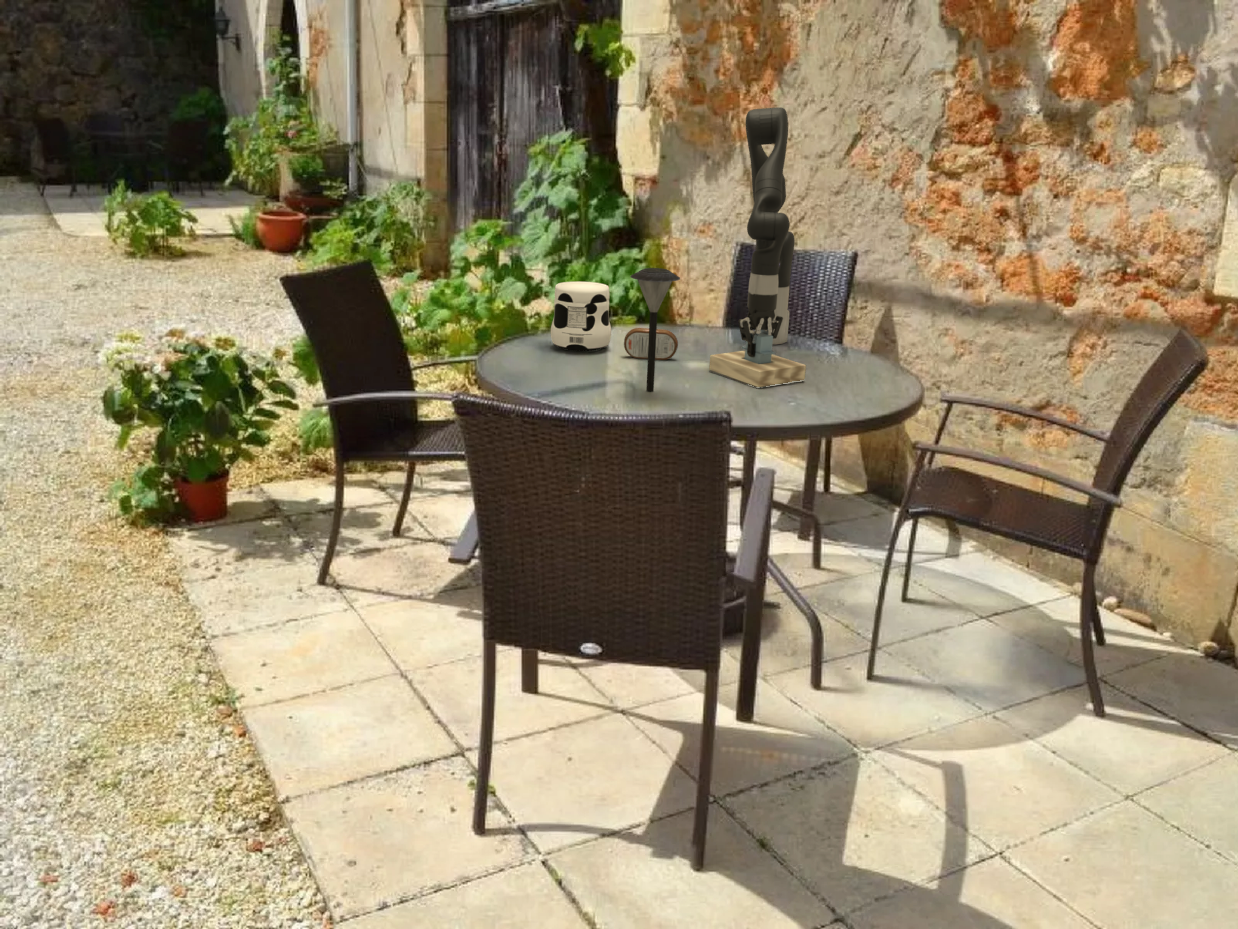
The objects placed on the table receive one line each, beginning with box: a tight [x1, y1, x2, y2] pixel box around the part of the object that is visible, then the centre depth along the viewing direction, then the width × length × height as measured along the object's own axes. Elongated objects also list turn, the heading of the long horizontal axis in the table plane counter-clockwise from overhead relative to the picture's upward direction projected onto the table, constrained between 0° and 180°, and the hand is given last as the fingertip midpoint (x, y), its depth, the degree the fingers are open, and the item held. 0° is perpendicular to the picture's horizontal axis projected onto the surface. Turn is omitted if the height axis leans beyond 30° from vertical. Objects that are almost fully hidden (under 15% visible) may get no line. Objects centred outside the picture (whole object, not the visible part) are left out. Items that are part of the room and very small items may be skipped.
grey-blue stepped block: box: [741, 332, 777, 364], centre depth 283 cm, size 4×9×8 cm, turn 34°
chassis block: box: [708, 350, 807, 388], centre depth 285 cm, size 16×20×4 cm
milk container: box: [550, 280, 612, 353], centre depth 307 cm, size 17×17×18 cm
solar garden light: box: [629, 267, 681, 393], centre depth 263 cm, size 12×12×30 cm
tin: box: [623, 327, 679, 361], centre depth 299 cm, size 15×3×8 cm, turn 84°
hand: (757, 355), depth 284 cm, fingers closed on grey-blue stepped block, 4 cm apart
